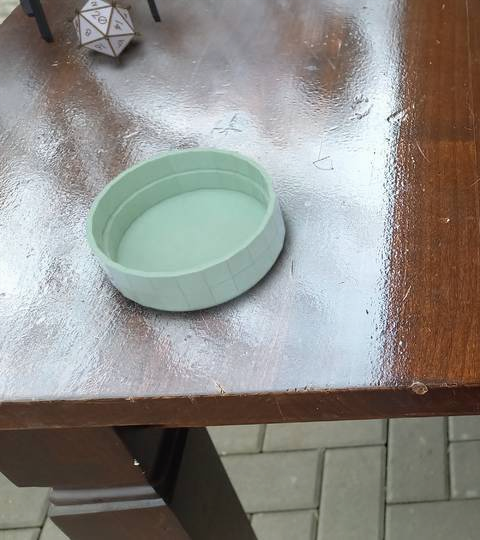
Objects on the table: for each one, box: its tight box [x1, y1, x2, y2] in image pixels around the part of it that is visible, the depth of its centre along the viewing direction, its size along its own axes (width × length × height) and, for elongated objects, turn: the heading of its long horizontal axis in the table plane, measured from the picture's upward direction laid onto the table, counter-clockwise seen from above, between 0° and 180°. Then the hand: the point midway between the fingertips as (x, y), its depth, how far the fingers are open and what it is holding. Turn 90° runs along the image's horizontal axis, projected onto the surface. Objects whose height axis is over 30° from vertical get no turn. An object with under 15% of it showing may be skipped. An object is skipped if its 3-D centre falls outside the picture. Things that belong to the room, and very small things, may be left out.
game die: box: [65, 0, 143, 64], centre depth 94 cm, size 9×8×10 cm
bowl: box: [84, 147, 286, 312], centre depth 72 cm, size 18×18×6 cm
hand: (103, 29), depth 92 cm, fingers open, 13 cm apart
